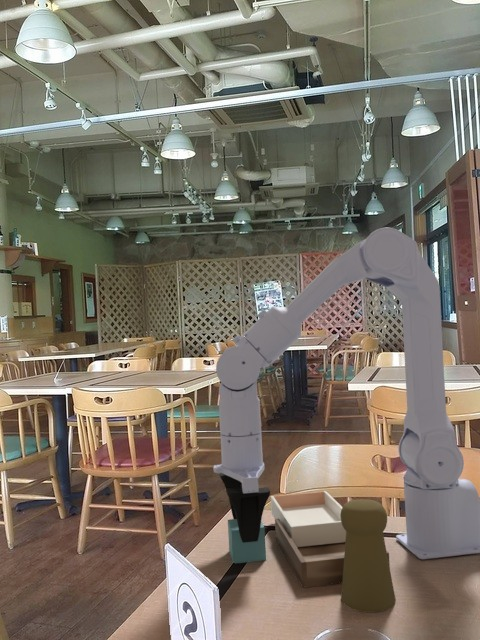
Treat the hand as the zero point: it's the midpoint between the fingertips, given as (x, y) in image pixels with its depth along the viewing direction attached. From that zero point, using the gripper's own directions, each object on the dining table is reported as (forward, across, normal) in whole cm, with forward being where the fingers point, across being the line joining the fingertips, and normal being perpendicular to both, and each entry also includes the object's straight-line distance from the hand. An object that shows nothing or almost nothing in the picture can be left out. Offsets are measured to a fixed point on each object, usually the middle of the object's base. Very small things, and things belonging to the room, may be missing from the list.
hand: (245, 531), depth 79 cm
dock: (+3, +3, +11) cm, 12 cm away
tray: (+2, -5, +11) cm, 12 cm away
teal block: (+3, 0, 0) cm, 3 cm away
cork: (+3, +16, +12) cm, 20 cm away
